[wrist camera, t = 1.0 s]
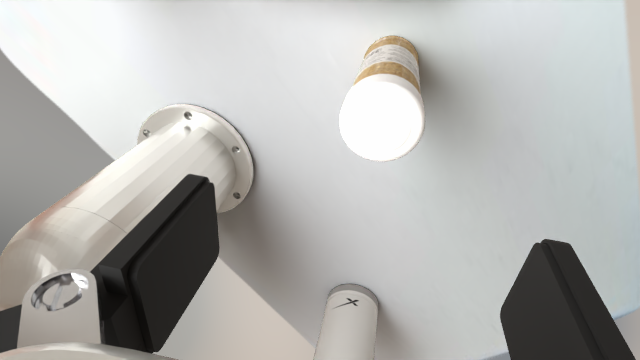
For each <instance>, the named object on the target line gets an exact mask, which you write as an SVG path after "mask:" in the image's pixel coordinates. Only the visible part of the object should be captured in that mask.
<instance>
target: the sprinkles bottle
mask: <svg viewBox="0 0 640 360" xmlns="http://www.w3.org/2000/svg"><path fill="white" fill-rule="evenodd" d="M418 66H419V61H418V54H417V52H416V50H415V48H414V46H413V45H412V44H411V43H410V42H409V41H407V40H406V39H404V38H402V37H398V36H387V37H383V38H380V39H379V40H377V41H375V42H374V43H373V44H372V45H371V46H370V47H369V48H368V50H367V52H366V54H365V56H364V60H363V62H362V64H361V67H360V69H359V71H358V74H357V76H356V78H355V81H354V83H353V87H352V88H351V90H350V91H349V92H348V94H347V96H346V98H345V100H344V103H343V106H342V109H341V112H340V118H339V126H340V131H341V134H342V137H343V139H344V141H345V142H346V144H347V145H348V146H349V148H350V149H351V150H352V151H354V152H355V153H356V154H358V155H359V156H361V157H363V158H366V159H368V160H372V161H380V162H384V161H391V160H395V159H398V158H400V157H403V156H404V155H406V154H408V153H409V152H410V151H411V150H412V149H414V148H415V146H416V145H417V144H418V143H419V141H420V139H421V137H422V134H423V131H424V128H425V110H424V103H423V100H422V97H421V90H420V77H419V68H418Z"/></svg>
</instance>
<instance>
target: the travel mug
mask: <svg viewBox="0 0 640 360" xmlns="http://www.w3.org/2000/svg"><path fill="white" fill-rule="evenodd" d="M377 316H378V300H377V298H376V297H375V295H374V294H373V293H372V292H371V291H369V290H368V289H366V288H364V287H362V286H359V285H355V284H343V285H339V286H337V287H335V288H334V289H332V290H331V291H330V293H329V295H328V299H327V304H326V308H325V312H324V316H323V321H322V325H321V329H320V333H319V338H318V342H317V346H316V350H315V355H314V359H313V360H374V351H375V340H376V328H377Z"/></svg>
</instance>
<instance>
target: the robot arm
mask: <svg viewBox="0 0 640 360" xmlns="http://www.w3.org/2000/svg"><path fill="white" fill-rule="evenodd" d="M252 181H253V162H252V157H251V155H250V152H249V150H248V147H247V145H246V144H245V142H244V140H243V139H242V137H241V136H240V135H239V133H238V132H237V131H236V130H235V129H234V128H233V126H231V125H230V124H229V123H228V122H227V121H225V120H224V119H223V118H222V117H220V116H218V115H217V114H215V113H213V112H212V111H209V110H207V109H204V108H202V107H199V106H194V105H190V104H175V105H170V106H166V107H164V108H162V109H160V110H158V111H156V112H155V113H153V114H152V115H150V116H149V117H148V118H147V119H146V120H145V122H144V123H143V125H142V126H141V128H140V131H139V135H138V139H137V146H135V147H134V148H133V149H131V150H130V151H128V152H127V153H125V154H124V155H123V156H121V157H120V158H118V159H117V160H116V161H114V162H113V163H111V164H110V165H109V166H107V167H106V168H104V169H103V170H102V171H100V172H99V173H97V174H96V175H95V176H93V177H92V178H90V179H89V180H87V181H86V182H85V183H83V184H82V185H80V186H79V187H78V188H76V189H75V190H73V191H72V192H71V193H69V194H68V195H66V196H65V197H64V198H62V199H61V200H59V201H58V202H57V203H55V204H54V205H52V206H51V207H49V208H48V209H47V210H45V211H44V212H42V213H41V214H40V215H38V216H37V217H36V218H34V219H33V220H31V221H30V222H29V223H27V224H26V225H25V226H24V227H22V228H21V229H20V230H19V231H18V232H17V233H16V235H15V236H14V237H13V238H12V239H11V241H10V242H9V243H8V245H7V246H6V248H5V249H4V251H3V252H2V254H1V256H0V360H178V359H173V358H169V357H164V356H159V355H155V354H152V353H153V352H158V351H159V350H160V349H161V348H162V347H163V345H164V343H165V342H166V340H167V339H168V337H169V335H170V334H171V332H172V330H173V329H174V327H175V326H176V324H177V323H178V321H179V319H180V318H181V316H182V314H183V313H184V311H185V310H186V308H187V306H188V305H189V303H190V302H191V300H192V298H193V297H194V295H195V293H196V292H197V290H198V289H199V287H200V285H201V284H202V282H203V281H204V279H205V277H206V276H207V274H208V273H209V271H210V269H211V268H212V266H213V264H214V263H215V261H216V259H217V257H218V254H219V238H218V225H217V213H222V212H226V211H229V210H231V209H232V208H234V207H236V206H237V205H238V204H239V203H241V202H242V201H243V199H244V198H245V196H246V195H247V194H248V192H249V190H250V188H251V185H252ZM500 318H501V323H502V327H503V331H504V335H505V339H506V342H507V346H508V350H509V354H510V357H511V360H636V359H635V357H634V356H633V354H632V352H631V350H630V349H629V347H628V345H627V343H626V342H625V340H624V338H623V336H622V335H621V333H620V331H619V329H618V327H617V326H616V324H615V322H614V320H613V319H612V317H611V315H610V313H609V311H608V310H607V308H606V306H605V304H604V303H603V301H602V299H601V297H600V296H599V294H598V292H597V290H596V289H595V287H594V285H593V283H592V281H591V280H590V278H589V276H588V274H587V273H586V271H585V269H584V267H583V266H582V264H581V262H580V260H579V259H578V257H577V255H576V253H575V251H574V250H573V248H572V246H571V245H570V244H569V243H565V242H560V241H554V240H549V239H544V240H543V241H542V242H541V243H535V244H534V245H533V247H532V249H531V251H530V253H529V255H528V257H527V259H526V261H525V263H524V265H523V267H522V269H521V270H520V272H519V274H518V276H517V278H516V280H515V282H514V284H513V286H512V288H511V290H510V292H509V294H508V296H507V298H506V300H505V302H504V304H503V306H502V308H501V313H500Z"/></svg>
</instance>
